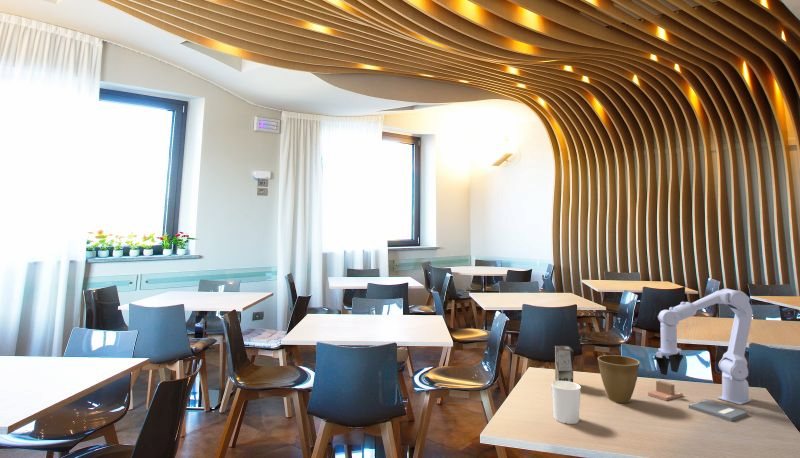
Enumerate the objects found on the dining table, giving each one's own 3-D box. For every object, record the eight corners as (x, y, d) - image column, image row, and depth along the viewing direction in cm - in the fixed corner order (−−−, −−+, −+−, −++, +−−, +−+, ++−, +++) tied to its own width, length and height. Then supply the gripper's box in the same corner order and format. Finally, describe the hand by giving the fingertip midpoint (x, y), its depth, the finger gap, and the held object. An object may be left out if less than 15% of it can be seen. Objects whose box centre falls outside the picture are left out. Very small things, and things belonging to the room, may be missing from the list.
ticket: (705, 402, 171) (705, 399, 171) (747, 415, 159) (747, 411, 159) (688, 408, 165) (688, 404, 165) (731, 421, 153) (731, 417, 153)
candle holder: (580, 416, 157) (580, 382, 157) (582, 426, 148) (581, 391, 148) (551, 412, 160) (551, 379, 161) (551, 422, 151) (551, 387, 151)
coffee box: (573, 388, 186) (573, 350, 187) (558, 387, 188) (558, 349, 188) (570, 382, 195) (569, 345, 196) (554, 380, 196) (554, 344, 197)
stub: (664, 390, 185) (664, 378, 185) (682, 395, 179) (682, 383, 179) (648, 394, 179) (647, 382, 179) (665, 400, 173) (665, 387, 173)
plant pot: (611, 391, 184) (611, 353, 184) (647, 402, 171) (647, 361, 171) (590, 397, 176) (589, 357, 176) (625, 410, 163) (625, 366, 163)
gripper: (668, 336, 186) (669, 368, 186) (648, 339, 179) (649, 373, 179) (686, 339, 180) (686, 372, 180) (666, 343, 173) (666, 377, 173)
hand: (669, 373), depth 179 cm, fingers open, 7 cm apart
